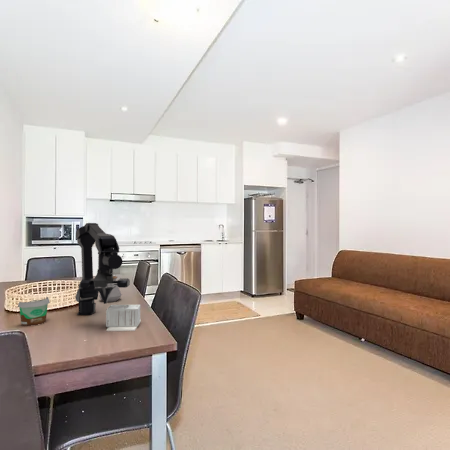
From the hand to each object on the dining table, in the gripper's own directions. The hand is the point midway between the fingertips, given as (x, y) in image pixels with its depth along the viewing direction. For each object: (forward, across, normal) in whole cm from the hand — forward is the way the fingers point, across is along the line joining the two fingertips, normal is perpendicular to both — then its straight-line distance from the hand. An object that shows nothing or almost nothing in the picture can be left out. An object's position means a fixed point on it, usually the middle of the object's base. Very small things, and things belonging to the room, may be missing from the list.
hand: (105, 303), depth 133 cm
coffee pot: (+10, -10, +49) cm, 51 cm away
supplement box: (+5, +1, 0) cm, 5 cm away
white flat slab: (+9, +8, 0) cm, 12 cm away
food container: (+10, -29, +4) cm, 31 cm away
